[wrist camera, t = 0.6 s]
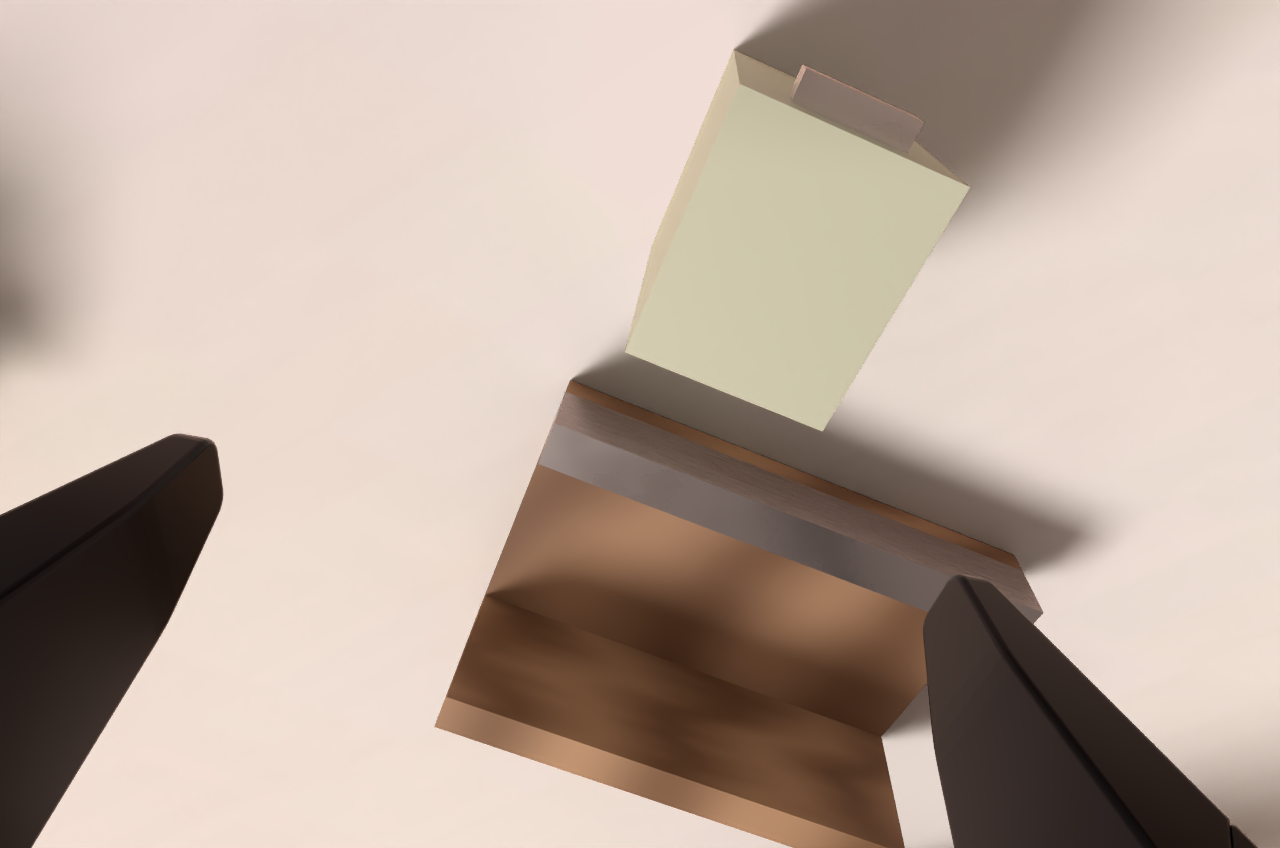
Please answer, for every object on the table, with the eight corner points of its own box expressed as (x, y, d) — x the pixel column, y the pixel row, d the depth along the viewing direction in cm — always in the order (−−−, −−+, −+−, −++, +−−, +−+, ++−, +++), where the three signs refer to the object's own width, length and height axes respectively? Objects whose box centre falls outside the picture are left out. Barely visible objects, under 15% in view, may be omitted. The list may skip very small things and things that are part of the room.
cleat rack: (1014, 555, 27) (1077, 680, 22) (858, 743, 32) (882, 877, 27) (570, 380, 25) (534, 474, 20) (479, 608, 30) (434, 726, 25)
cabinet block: (903, 98, 20) (989, 154, 14) (793, 304, 23) (822, 432, 17) (743, 25, 20) (755, 48, 13) (651, 245, 23) (624, 352, 16)
